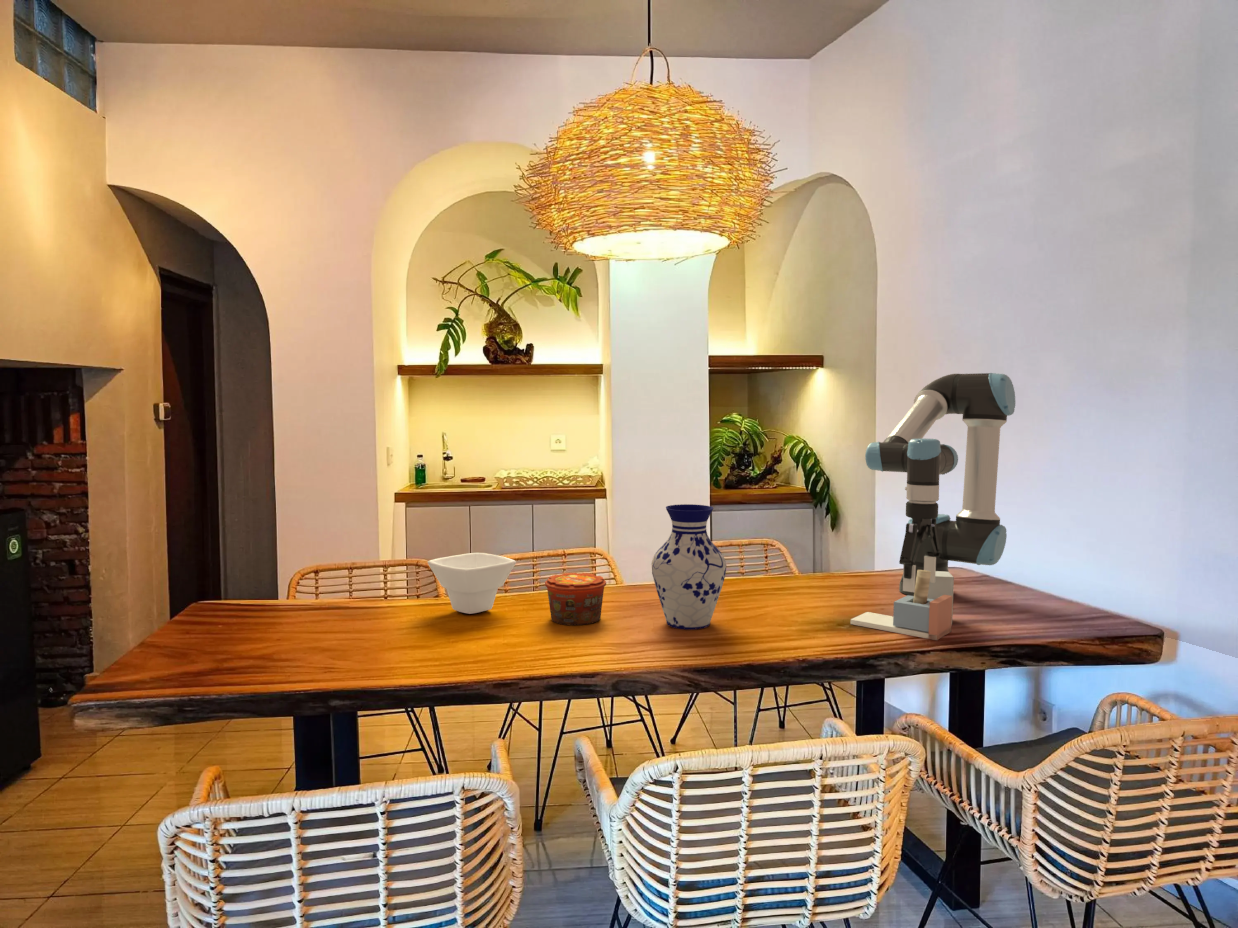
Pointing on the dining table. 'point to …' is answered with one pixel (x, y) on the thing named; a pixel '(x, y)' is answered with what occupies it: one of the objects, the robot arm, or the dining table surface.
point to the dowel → (922, 586)
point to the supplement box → (941, 586)
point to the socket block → (911, 614)
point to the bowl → (472, 579)
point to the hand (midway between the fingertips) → (919, 586)
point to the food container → (575, 598)
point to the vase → (688, 569)
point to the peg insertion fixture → (937, 628)
